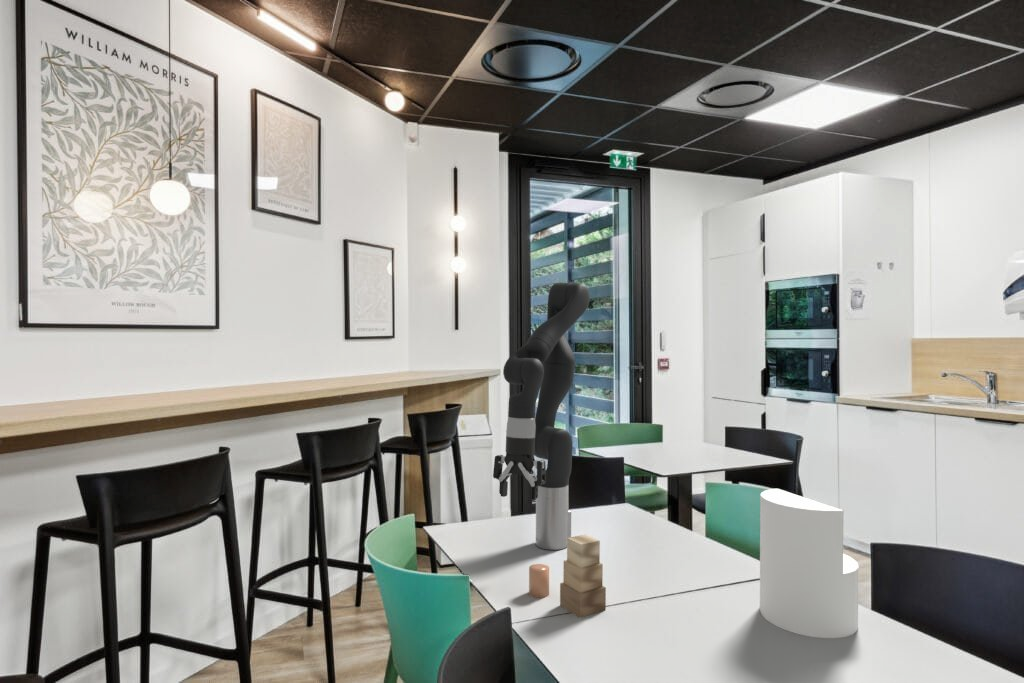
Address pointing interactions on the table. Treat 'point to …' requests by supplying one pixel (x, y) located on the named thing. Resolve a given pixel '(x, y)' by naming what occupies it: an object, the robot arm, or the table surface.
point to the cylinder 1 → (539, 581)
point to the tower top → (583, 551)
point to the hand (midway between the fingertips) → (518, 498)
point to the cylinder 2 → (806, 567)
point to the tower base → (582, 600)
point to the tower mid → (583, 576)
